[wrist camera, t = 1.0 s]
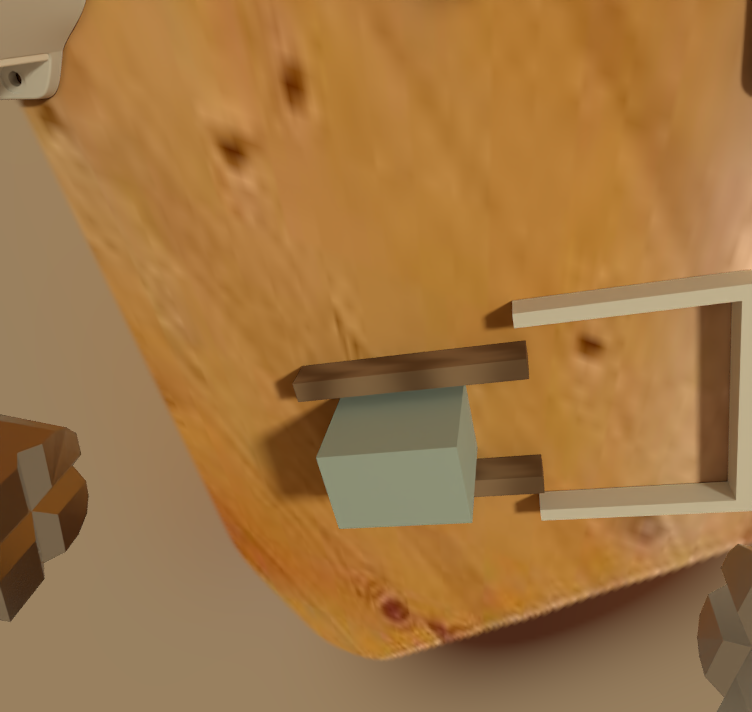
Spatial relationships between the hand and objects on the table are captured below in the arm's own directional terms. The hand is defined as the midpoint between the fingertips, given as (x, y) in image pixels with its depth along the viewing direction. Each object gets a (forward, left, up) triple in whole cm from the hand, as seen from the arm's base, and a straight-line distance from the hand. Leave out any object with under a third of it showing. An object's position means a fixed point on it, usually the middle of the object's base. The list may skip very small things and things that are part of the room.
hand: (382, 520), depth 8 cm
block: (-8, -21, -34) cm, 41 cm away
